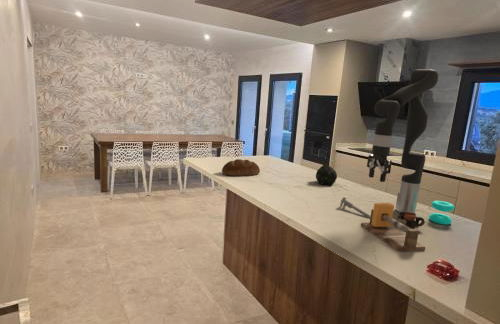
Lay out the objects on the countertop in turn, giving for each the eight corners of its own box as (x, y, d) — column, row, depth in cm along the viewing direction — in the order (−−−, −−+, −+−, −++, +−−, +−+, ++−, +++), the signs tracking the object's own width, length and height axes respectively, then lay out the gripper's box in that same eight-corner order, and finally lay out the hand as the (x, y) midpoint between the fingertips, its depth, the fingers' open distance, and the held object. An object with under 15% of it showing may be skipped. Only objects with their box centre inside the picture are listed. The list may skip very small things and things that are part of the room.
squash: (338, 175, 230) (326, 158, 228) (342, 180, 215) (329, 163, 213) (322, 186, 233) (310, 170, 231) (325, 192, 218) (312, 175, 216)
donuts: (459, 207, 154) (437, 205, 155) (455, 226, 156) (433, 224, 157) (448, 201, 164) (428, 199, 165) (445, 219, 166) (425, 217, 167)
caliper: (339, 207, 174) (341, 196, 173) (341, 207, 174) (342, 196, 173) (372, 219, 158) (374, 207, 156) (373, 219, 158) (375, 207, 157)
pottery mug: (395, 228, 149) (395, 211, 152) (400, 232, 156) (400, 215, 159) (423, 229, 142) (423, 211, 145) (427, 233, 149) (427, 216, 152)
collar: (371, 224, 144) (374, 203, 142) (386, 223, 146) (389, 203, 144) (375, 226, 141) (378, 205, 139) (390, 226, 143) (394, 205, 141)
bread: (218, 172, 236) (219, 157, 234) (254, 171, 248) (255, 157, 246) (226, 177, 222) (227, 161, 220) (263, 176, 234) (264, 161, 232)
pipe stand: (361, 225, 148) (363, 208, 146) (383, 224, 151) (385, 208, 149) (399, 251, 123) (402, 231, 122) (424, 250, 126) (428, 230, 125)
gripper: (399, 147, 138) (393, 183, 141) (378, 142, 152) (374, 175, 155) (384, 147, 136) (379, 183, 139) (365, 142, 150) (360, 175, 153)
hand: (376, 179), depth 147 cm, fingers open, 8 cm apart
